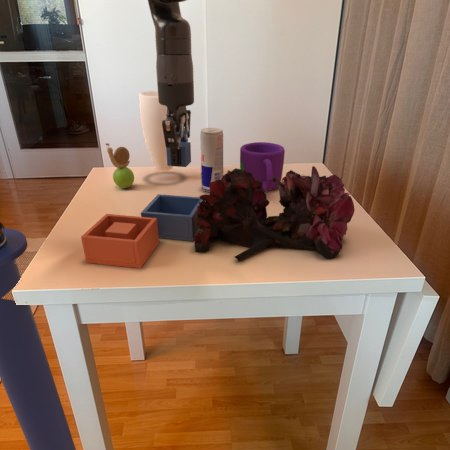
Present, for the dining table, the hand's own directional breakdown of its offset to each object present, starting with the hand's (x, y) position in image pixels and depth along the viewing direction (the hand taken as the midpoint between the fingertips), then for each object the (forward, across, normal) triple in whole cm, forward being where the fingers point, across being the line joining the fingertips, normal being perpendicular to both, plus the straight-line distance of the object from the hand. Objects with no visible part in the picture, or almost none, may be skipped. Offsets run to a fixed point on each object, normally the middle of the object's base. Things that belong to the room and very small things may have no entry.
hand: (179, 162), depth 96 cm
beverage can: (+10, -11, +5) cm, 16 cm away
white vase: (+10, -17, -10) cm, 22 cm away
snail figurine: (+10, -8, -18) cm, 22 cm away
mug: (+10, -14, +18) cm, 25 cm away
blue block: (0, 0, 0) cm, 0 cm away
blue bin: (+10, +14, +3) cm, 17 cm away
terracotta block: (+9, +26, -4) cm, 28 cm away
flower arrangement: (+10, +14, +24) cm, 29 cm away
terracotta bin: (+10, +26, -4) cm, 28 cm away
